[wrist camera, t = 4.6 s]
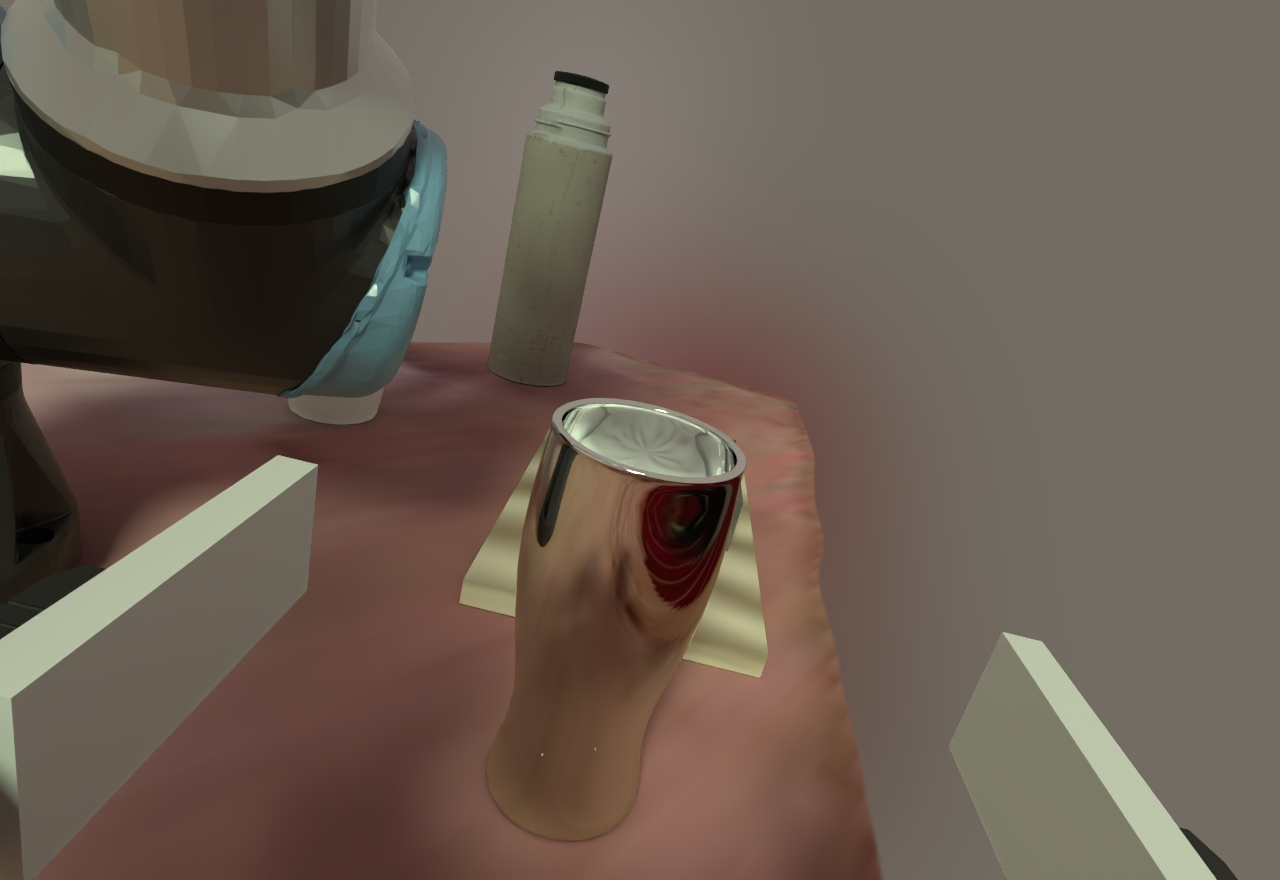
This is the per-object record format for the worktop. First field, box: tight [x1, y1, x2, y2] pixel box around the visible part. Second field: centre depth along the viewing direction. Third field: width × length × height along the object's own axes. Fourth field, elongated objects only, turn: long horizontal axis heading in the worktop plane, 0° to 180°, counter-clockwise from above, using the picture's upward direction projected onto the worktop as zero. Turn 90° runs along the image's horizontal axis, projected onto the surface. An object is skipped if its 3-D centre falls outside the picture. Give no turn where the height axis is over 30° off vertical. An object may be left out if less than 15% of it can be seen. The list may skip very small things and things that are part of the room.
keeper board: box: [459, 427, 768, 678], centre depth 50 cm, size 24×16×2 cm, turn 175°
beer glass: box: [486, 398, 746, 841], centre depth 27 cm, size 7×7×15 cm
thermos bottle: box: [488, 71, 612, 386], centre depth 72 cm, size 8×8×28 cm
